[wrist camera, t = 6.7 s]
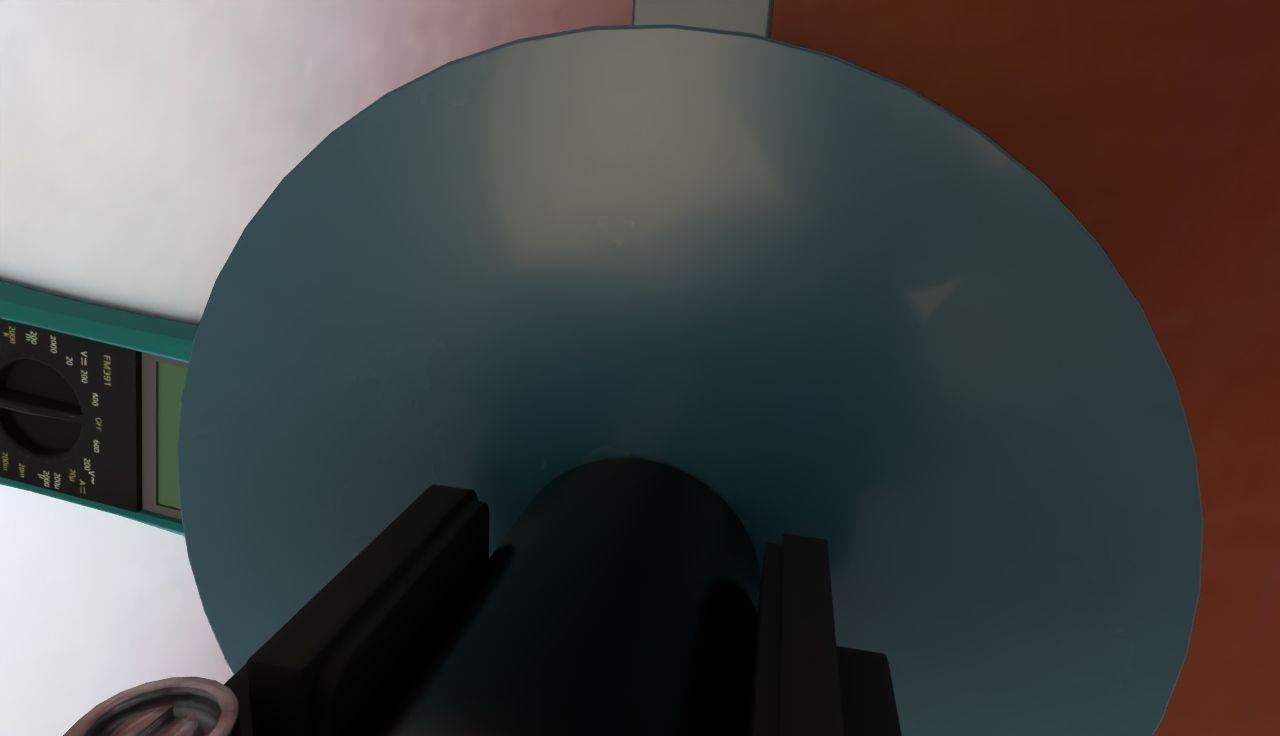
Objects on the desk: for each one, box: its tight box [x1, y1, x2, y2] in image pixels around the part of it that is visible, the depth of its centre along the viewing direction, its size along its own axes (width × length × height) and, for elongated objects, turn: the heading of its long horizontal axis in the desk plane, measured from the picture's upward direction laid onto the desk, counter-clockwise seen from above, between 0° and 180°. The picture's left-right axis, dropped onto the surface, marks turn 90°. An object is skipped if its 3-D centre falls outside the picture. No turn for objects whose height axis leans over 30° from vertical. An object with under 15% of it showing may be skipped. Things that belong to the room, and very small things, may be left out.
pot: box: [632, 0, 774, 38], centre depth 20 cm, size 14×19×10 cm
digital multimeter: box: [0, 281, 198, 536], centre depth 28 cm, size 7×15×3 cm, turn 81°
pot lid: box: [177, 24, 1203, 736], centre depth 9 cm, size 15×15×8 cm
